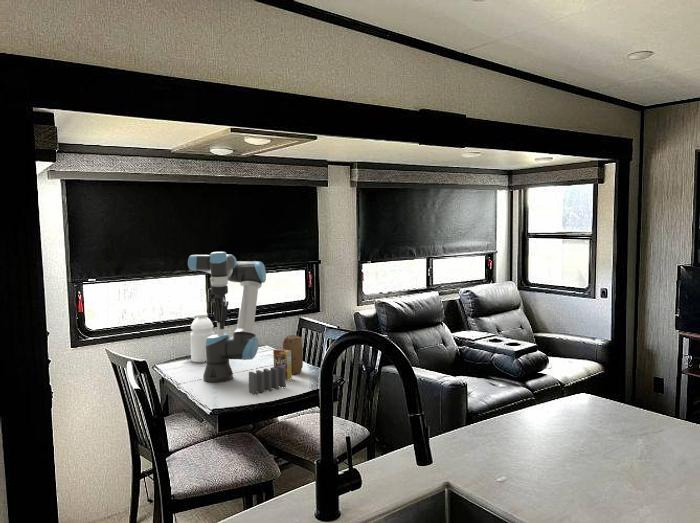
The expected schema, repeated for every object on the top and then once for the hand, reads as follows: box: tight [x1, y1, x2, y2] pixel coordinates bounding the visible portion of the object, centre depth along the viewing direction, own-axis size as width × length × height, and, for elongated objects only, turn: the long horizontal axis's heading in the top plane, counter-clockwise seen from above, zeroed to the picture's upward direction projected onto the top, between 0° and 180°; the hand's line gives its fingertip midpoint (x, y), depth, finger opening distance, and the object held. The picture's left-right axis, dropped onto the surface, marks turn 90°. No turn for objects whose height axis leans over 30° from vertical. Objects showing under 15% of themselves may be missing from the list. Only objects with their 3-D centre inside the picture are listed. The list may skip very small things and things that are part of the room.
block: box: [282, 334, 304, 375], centre depth 295 cm, size 11×8×20 cm
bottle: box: [189, 312, 215, 363], centre depth 324 cm, size 14×14×28 cm
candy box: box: [272, 348, 293, 381], centre depth 285 cm, size 9×4×15 cm, turn 61°
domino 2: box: [255, 369, 266, 394], centre depth 263 cm, size 5×2×10 cm, turn 39°
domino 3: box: [262, 368, 273, 392], centre depth 266 cm, size 5×2×10 cm, turn 39°
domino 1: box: [248, 371, 258, 396], centre depth 261 cm, size 5×2×10 cm, turn 39°
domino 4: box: [269, 366, 280, 390], centre depth 268 cm, size 5×2×10 cm, turn 39°
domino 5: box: [277, 366, 287, 389], centre depth 271 cm, size 5×2×10 cm, turn 39°
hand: (221, 335), depth 253 cm, fingers closed
